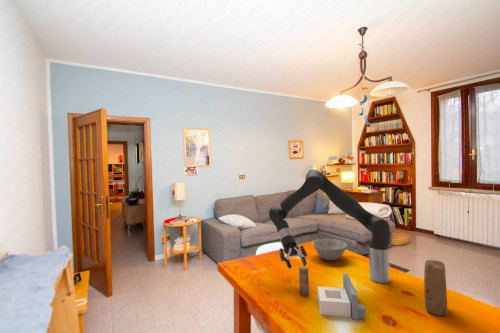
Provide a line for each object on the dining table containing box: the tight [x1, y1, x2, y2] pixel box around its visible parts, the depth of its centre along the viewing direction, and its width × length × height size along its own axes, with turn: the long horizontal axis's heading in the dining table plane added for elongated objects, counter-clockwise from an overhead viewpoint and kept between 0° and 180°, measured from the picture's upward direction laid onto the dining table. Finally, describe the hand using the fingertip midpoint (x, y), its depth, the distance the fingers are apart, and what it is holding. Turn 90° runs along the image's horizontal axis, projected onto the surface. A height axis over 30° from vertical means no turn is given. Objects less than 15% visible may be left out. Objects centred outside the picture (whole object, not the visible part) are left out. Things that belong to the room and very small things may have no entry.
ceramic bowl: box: [311, 238, 348, 261], centre depth 162 cm, size 22×23×10 cm
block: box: [423, 259, 448, 317], centre depth 102 cm, size 11×8×20 cm
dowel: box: [298, 266, 310, 297], centre depth 118 cm, size 4×4×12 cm
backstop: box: [342, 272, 366, 321], centre depth 106 cm, size 20×5×10 cm, turn 169°
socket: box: [317, 286, 352, 318], centre depth 106 cm, size 12×12×6 cm
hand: (298, 266), depth 123 cm, fingers open, 8 cm apart
